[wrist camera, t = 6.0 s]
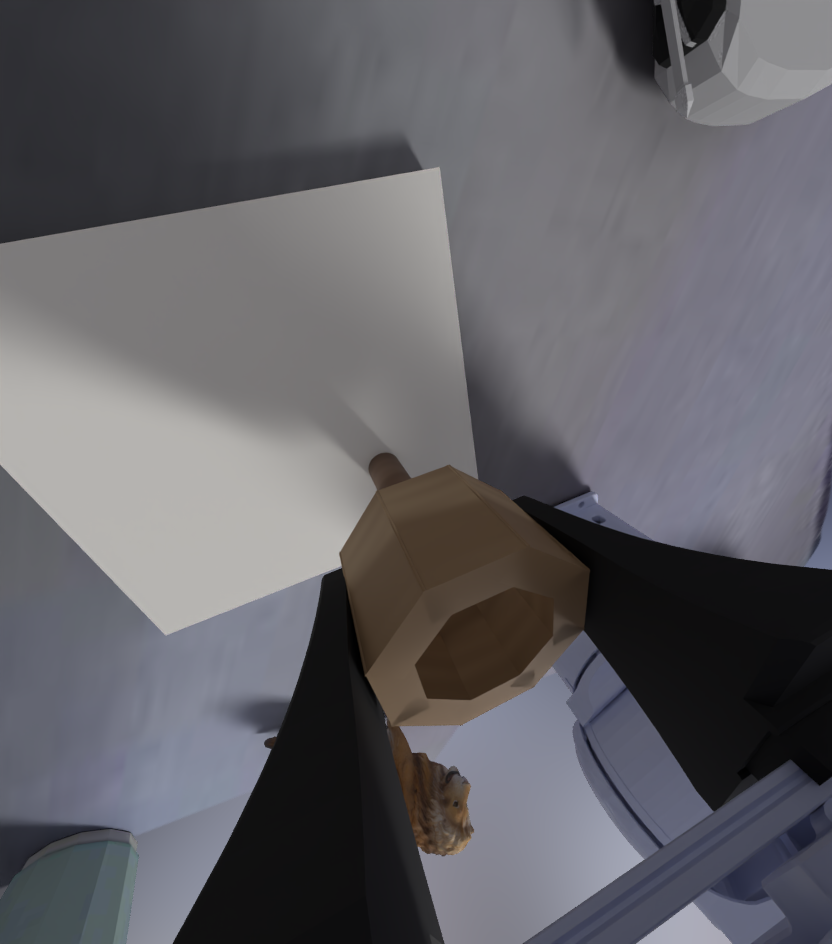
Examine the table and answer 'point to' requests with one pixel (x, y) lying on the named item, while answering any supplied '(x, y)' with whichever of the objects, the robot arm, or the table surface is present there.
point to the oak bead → (457, 598)
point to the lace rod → (387, 471)
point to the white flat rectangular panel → (231, 383)
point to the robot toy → (740, 56)
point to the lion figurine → (429, 797)
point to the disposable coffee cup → (73, 892)
